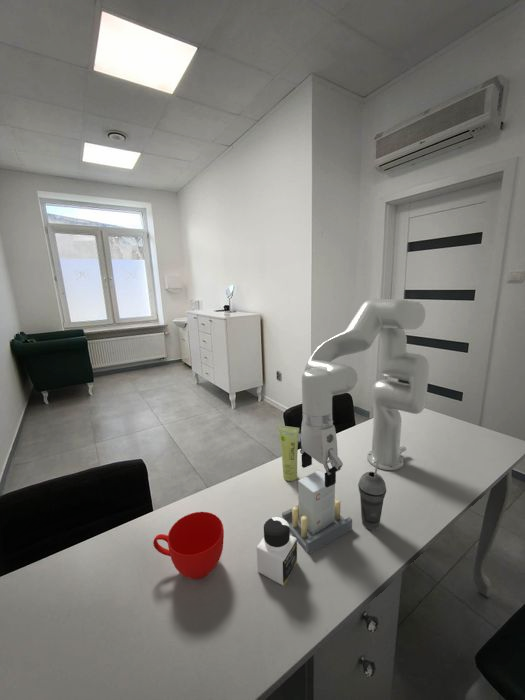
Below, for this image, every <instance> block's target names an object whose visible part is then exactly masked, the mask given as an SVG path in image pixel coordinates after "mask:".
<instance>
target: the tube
mask: <svg viewBox="0 0 525 700" xmlns="http://www.w3.org/2000/svg"><path fill="white" fill-rule="evenodd" d="M278 431H279V440H280V449H281V452H280V453H281V462H282V476H283V477H282V478H283V479H284V481H288V482H293V481H296V480H297V479H298V452H299V451H298V448H299V445H298V442H299V441H298V439H297V434H300V427H295V426H287V425H282V424H280V425H279V424H278Z"/></svg>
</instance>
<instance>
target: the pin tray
mask: <svg viewBox="0 0 525 700" xmlns="http://www.w3.org/2000/svg"><path fill="white" fill-rule="evenodd" d="M281 518H283V519H284V520H286V521H287V522H288V524H289V527H290V535H291V536H293V537H295V538H296V539H297V543H299V544H300V546H301V547H302V548H303V549H304V550H305V553H307V554H308V555H310V554H311V553H313V552H314V551H317V550H319V549H320V548H321V547H323V546H325V545H327V544H329V543H330V542H332V541H334V540H336V539H337V538H340V537H341V536H343V535H345V534H347V533H348V532H350V531H351V530H353V519H352V518H351V517H350V516H349V517H347V518H344V516H342V515H341V500H339V499H335V516H334V522H333V523H331V524H330V525H328V526H327V527H325V528H324V529H322V530H321V531H319V532H318V533H316V534H315V535H314V534H312V533H311V532H310V531H309V530H308V529H307V517H306V516H302V517H301V522H299V504H298V505H296V506H293V507H292V508H289V509H287V510H285V511H283V512H282V513H281Z"/></svg>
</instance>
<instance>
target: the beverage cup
mask: <svg viewBox="0 0 525 700" xmlns="http://www.w3.org/2000/svg"><path fill="white" fill-rule="evenodd" d="M378 463H379V461H377V463H376V467H375V469H374V471H367V472H364V473H363V474H362V475H361V476H360V478H359V480H358V481H359V482H358V484H357V487H358V491H359V492H358V493H359V496H360V497H359V498H360V499H359V500H360V514H361V515H360V517H361V523H362V525H363V527H364V528H365V529H368V530H371V531H372V530H373V531H375V530H378V528H379V527H380V522H381V517H382V512H383V511H382V510H383V505H384V499H385V496H386V494H387V486H386V481H385V480H384V478H383V477H382V476H381V474H379V473H378V469H379V468H378Z"/></svg>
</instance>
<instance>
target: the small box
mask: <svg viewBox="0 0 525 700" xmlns="http://www.w3.org/2000/svg"><path fill="white" fill-rule="evenodd" d="M297 481H298V482H297V484H298V485H297V486H298V487H297V489H298V493H297V494H298V505H299V522H301V517H302V516H306V517H307V529H308V530H309V531H310V532H311V533H312V534H314V535H315V534H316V533H318V532H319V531H321V530H322V529H324V528H325V527H327V526H328V525H330V524H331V523H333V522H334V516H335V500H336V499H335V498H336V497H335V496H336V495H335V494H336V483H335V484H334V485H332V486H330V487H325V473H324V472H323V471H321V470H317V471H314V472H313V473H311V474H308V475H306V476H305V477H303V478H301V479H299V480H297Z"/></svg>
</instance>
